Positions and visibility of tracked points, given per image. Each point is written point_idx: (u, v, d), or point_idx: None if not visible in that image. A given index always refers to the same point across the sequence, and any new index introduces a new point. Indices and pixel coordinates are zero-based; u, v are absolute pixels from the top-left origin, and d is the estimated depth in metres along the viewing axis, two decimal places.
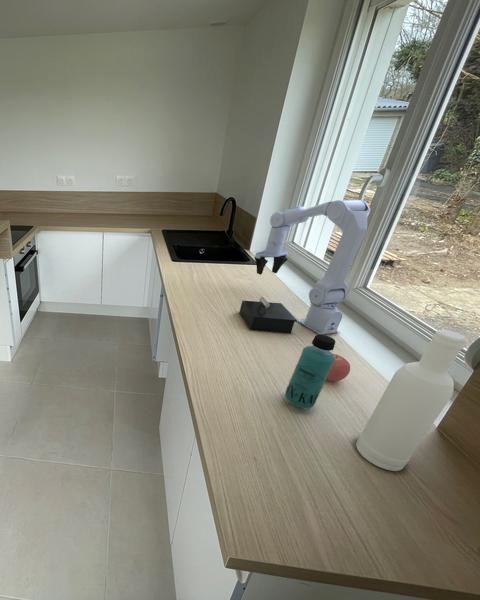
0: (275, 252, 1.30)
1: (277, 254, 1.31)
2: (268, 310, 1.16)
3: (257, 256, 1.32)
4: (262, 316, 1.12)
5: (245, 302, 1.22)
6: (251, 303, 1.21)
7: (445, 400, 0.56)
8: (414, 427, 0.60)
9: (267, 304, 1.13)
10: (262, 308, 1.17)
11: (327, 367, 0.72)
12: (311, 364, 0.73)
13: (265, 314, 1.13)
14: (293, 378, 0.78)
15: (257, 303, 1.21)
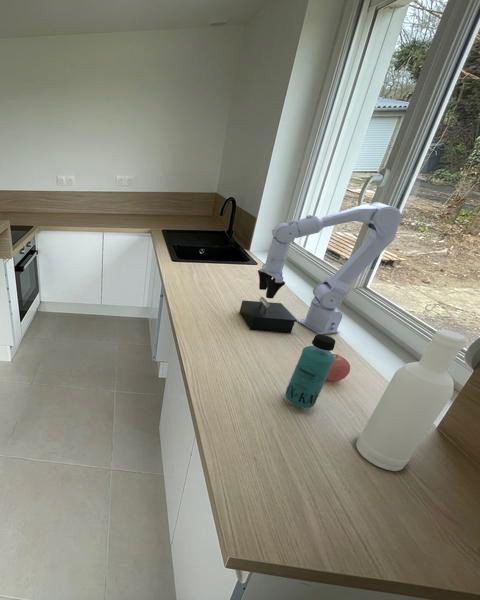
0: (282, 269, 1.12)
1: None
2: (268, 310, 1.16)
3: (280, 280, 1.08)
4: (262, 316, 1.12)
5: (245, 302, 1.22)
6: (251, 303, 1.21)
7: (445, 400, 0.56)
8: (414, 427, 0.60)
9: (267, 304, 1.13)
10: (262, 308, 1.17)
11: (327, 367, 0.72)
12: (311, 364, 0.73)
13: (265, 314, 1.13)
14: (293, 378, 0.78)
15: (257, 303, 1.21)
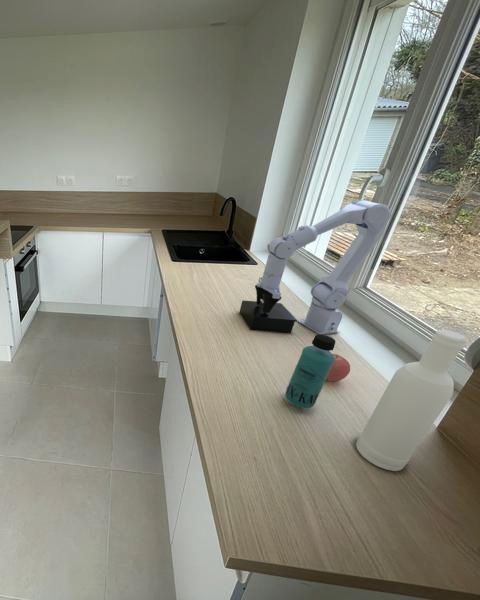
0: (279, 284, 1.11)
1: None
2: None
3: (278, 296, 1.07)
4: (262, 316, 1.12)
5: (245, 302, 1.22)
6: (251, 303, 1.21)
7: (445, 400, 0.56)
8: (414, 427, 0.60)
9: None
10: (262, 308, 1.17)
11: (327, 367, 0.72)
12: (311, 364, 0.73)
13: (265, 314, 1.13)
14: (293, 378, 0.78)
15: None
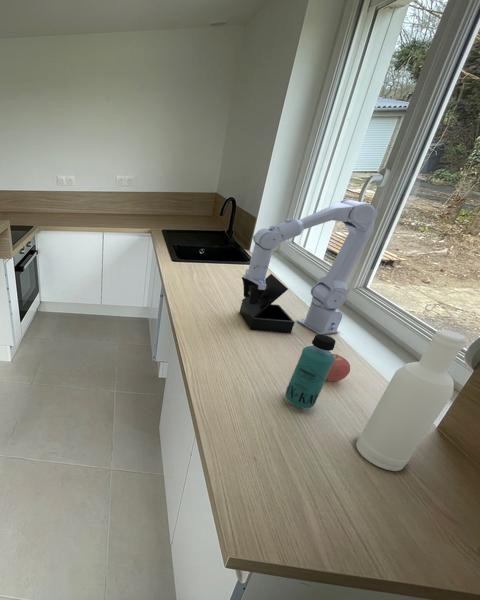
0: (265, 276, 1.10)
1: None
2: (262, 295, 1.14)
3: (263, 287, 1.06)
4: (259, 310, 1.11)
5: (244, 301, 1.21)
6: (248, 298, 1.20)
7: (445, 400, 0.56)
8: (414, 427, 0.60)
9: None
10: None
11: (327, 367, 0.72)
12: (311, 364, 0.73)
13: (261, 304, 1.12)
14: (293, 378, 0.78)
15: None
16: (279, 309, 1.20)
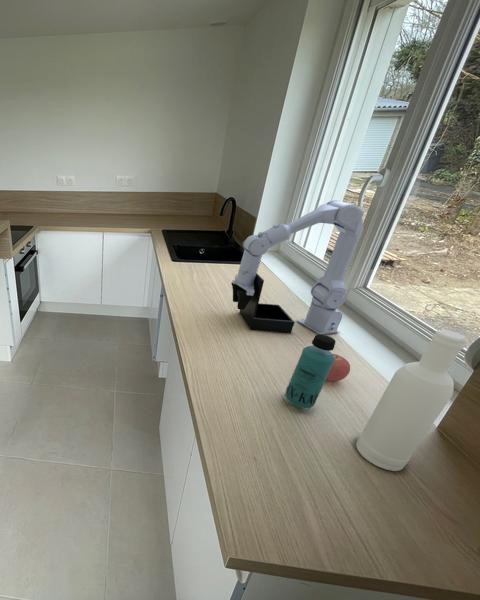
0: None
1: None
2: None
3: (251, 293, 1.07)
4: (254, 309, 1.11)
5: None
6: None
7: (445, 400, 0.56)
8: (414, 427, 0.60)
9: None
10: None
11: (327, 367, 0.72)
12: (311, 364, 0.73)
13: (253, 302, 1.12)
14: (293, 378, 0.78)
15: None
16: (279, 309, 1.20)
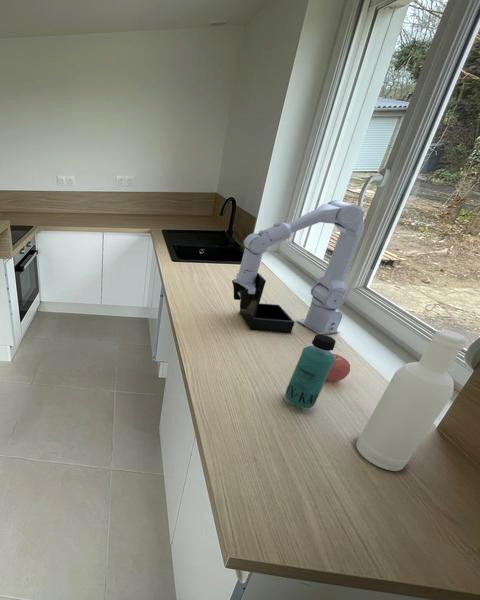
0: None
1: None
2: None
3: (253, 292, 1.07)
4: (254, 309, 1.11)
5: None
6: None
7: (445, 400, 0.56)
8: (414, 427, 0.60)
9: None
10: None
11: (327, 367, 0.72)
12: (311, 364, 0.73)
13: (253, 302, 1.12)
14: (293, 378, 0.78)
15: None
16: (279, 309, 1.20)
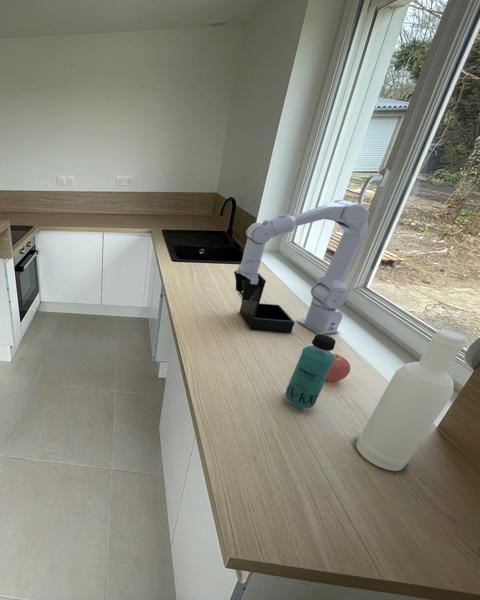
0: None
1: None
2: None
3: (255, 282, 1.05)
4: (254, 309, 1.11)
5: (243, 301, 1.22)
6: None
7: (445, 400, 0.56)
8: (414, 427, 0.60)
9: None
10: None
11: (327, 367, 0.72)
12: (311, 364, 0.73)
13: (253, 302, 1.12)
14: (293, 378, 0.78)
15: None
16: (279, 309, 1.20)
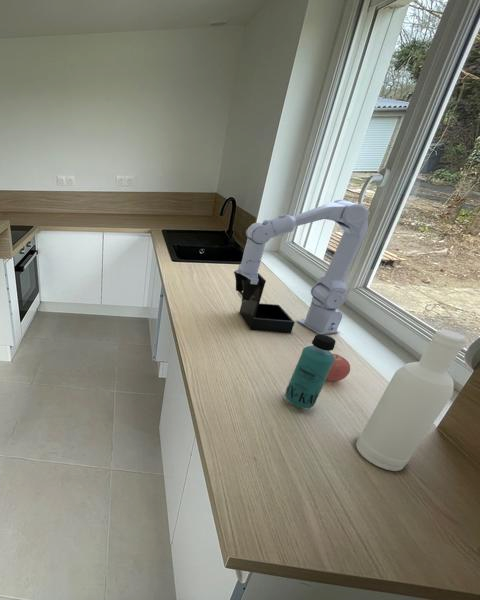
0: None
1: None
2: None
3: (255, 282, 1.05)
4: (254, 309, 1.11)
5: (243, 301, 1.22)
6: None
7: (445, 400, 0.56)
8: (414, 427, 0.60)
9: None
10: None
11: (327, 367, 0.72)
12: (311, 364, 0.73)
13: (253, 302, 1.12)
14: (293, 378, 0.78)
15: None
16: (279, 309, 1.20)
